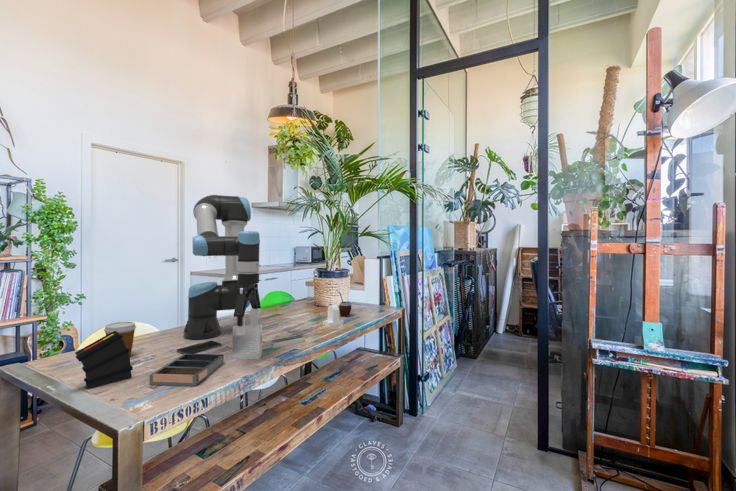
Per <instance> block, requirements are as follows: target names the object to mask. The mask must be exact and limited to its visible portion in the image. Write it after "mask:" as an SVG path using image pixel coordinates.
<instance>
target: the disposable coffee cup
mask: <svg viewBox="0 0 736 491" xmlns="http://www.w3.org/2000/svg"><path fill="white" fill-rule="evenodd" d="M136 328H137V326H136V323H135V322H133V321H119V322H118V321H117V322H113V323H108V324H106V325H105V328H103V331H104V333H105V336H106V335H108V334H110V333H112V332H113V331H117V332H118V333H119V334H121V335H122V336H123V337H122V339H123V341H124V343H125V345H126V347H127V348H128V349H129V351H130V352H128V354H129V357H131V355H132V350H133V344H134V339H135V338H134V337H135V330H136Z"/></svg>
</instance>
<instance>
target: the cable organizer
mask: <svg viewBox="0 0 736 491" xmlns="http://www.w3.org/2000/svg"><path fill="white" fill-rule="evenodd" d="M339 317H340V311H339V306H338V305H337V304H334V305H333V304H332V305H329V306H328V307H327V319H326V320H322V326H326V327H327V328H330V327H335V326H341V325H342V326H343V325H344V320H343V319H340V318H339Z"/></svg>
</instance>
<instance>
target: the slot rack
mask: <svg viewBox="0 0 736 491" xmlns="http://www.w3.org/2000/svg"><path fill="white" fill-rule="evenodd" d="M224 362H225V354H217V353H216V354H215V353H214V354H213V353H195V354H180V356H179V357H177V358H175V359H173V360H171V361H170V362H168V363H166V364H165V365H164V366H162V367H160V368H159V369H157V370H155V371H154V372H152V373H150V374H149V386H171V387H172V386H174V387H175V386H176V387H197V386H198V385H199V384H200V383H201V382H203V381H205V379H206V378H208V377H209V376H210V375H211V374H213V373H214V372H215V371H217V369H218V368H219V367H221V366H222V365H223V364H224Z"/></svg>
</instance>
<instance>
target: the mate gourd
mask: <svg viewBox="0 0 736 491" xmlns="http://www.w3.org/2000/svg"><path fill="white" fill-rule="evenodd" d="M336 292H337V293H338V294H339V296H340V299H341V301H340V303H339V306H338V308H339V317H341V318H342V317H344V318H349V317H350V315H351V314H350V313H351V312H352V304H351V302H350V301H344V300H343V296H342V293H341V292H340V291H339V290H337V289H336Z"/></svg>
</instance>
